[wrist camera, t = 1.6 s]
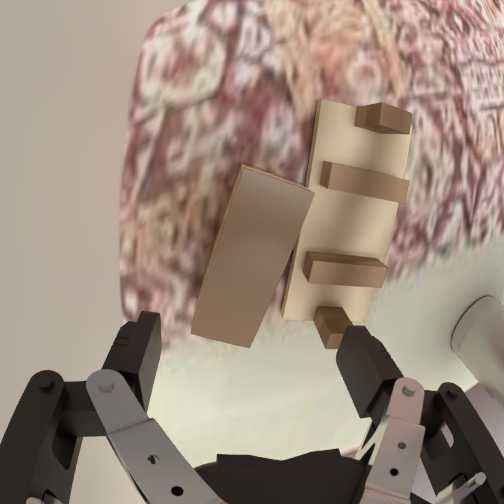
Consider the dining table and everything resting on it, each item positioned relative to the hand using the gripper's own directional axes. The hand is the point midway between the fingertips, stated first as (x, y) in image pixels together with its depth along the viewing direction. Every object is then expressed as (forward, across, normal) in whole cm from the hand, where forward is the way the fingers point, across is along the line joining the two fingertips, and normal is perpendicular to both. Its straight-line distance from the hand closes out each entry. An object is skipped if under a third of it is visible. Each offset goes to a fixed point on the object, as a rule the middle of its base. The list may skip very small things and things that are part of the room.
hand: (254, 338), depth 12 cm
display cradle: (+12, -8, -3) cm, 15 cm away
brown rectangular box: (+12, 0, 0) cm, 12 cm away
